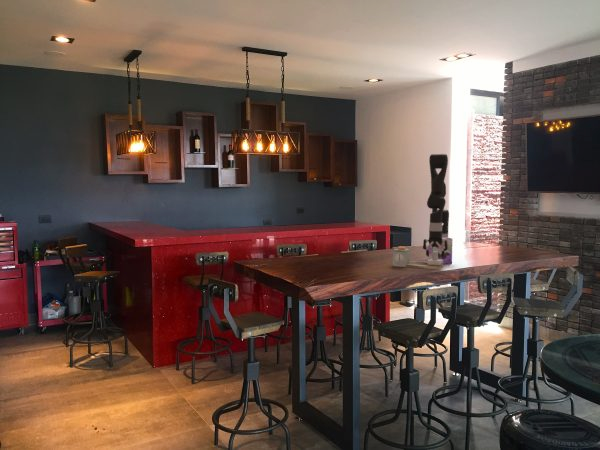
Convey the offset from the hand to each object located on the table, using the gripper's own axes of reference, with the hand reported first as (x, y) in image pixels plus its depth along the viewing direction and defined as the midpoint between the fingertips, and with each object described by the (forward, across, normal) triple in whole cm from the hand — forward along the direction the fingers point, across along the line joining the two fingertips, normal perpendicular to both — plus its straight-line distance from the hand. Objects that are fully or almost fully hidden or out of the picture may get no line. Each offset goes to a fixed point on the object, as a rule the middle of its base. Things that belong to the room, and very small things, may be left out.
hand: (435, 256), depth 304 cm
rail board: (+7, +6, 0) cm, 9 cm away
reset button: (-1, +21, 0) cm, 21 cm away
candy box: (+7, 0, -18) cm, 19 cm away
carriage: (+5, 0, 0) cm, 5 cm away
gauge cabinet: (+7, +20, 0) cm, 22 cm away
